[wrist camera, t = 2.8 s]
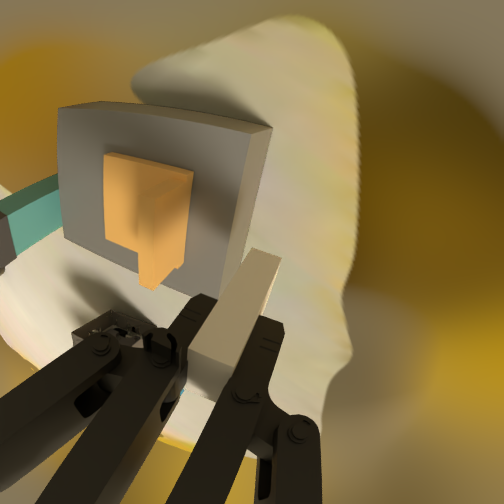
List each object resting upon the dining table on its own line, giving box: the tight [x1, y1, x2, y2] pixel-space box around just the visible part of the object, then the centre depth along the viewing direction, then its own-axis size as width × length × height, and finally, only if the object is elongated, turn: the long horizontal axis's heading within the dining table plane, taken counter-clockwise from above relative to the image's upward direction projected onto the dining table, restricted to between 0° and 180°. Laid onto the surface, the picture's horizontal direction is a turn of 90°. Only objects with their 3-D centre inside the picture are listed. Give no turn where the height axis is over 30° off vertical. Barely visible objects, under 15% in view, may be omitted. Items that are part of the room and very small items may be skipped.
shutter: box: [103, 152, 194, 291], centre depth 16 cm, size 6×6×4 cm
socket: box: [57, 101, 273, 300], centre depth 20 cm, size 16×12×5 cm
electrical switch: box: [71, 310, 157, 348], centre depth 29 cm, size 9×5×9 cm, turn 88°
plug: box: [0, 173, 63, 269], centre depth 21 cm, size 4×4×12 cm
